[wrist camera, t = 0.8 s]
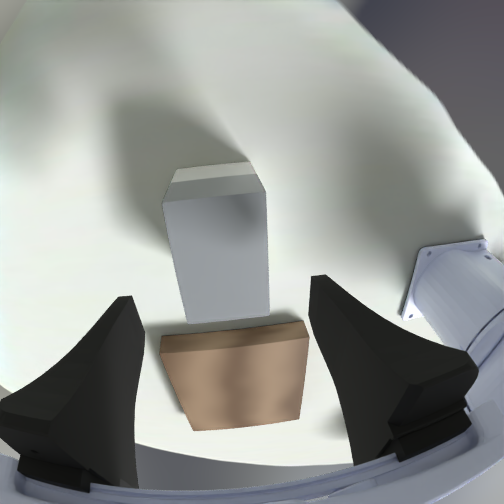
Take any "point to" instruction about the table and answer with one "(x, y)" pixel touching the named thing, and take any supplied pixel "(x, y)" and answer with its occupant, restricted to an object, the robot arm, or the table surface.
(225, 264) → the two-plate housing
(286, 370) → the walnut stand
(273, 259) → the table surface
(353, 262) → the table surface
